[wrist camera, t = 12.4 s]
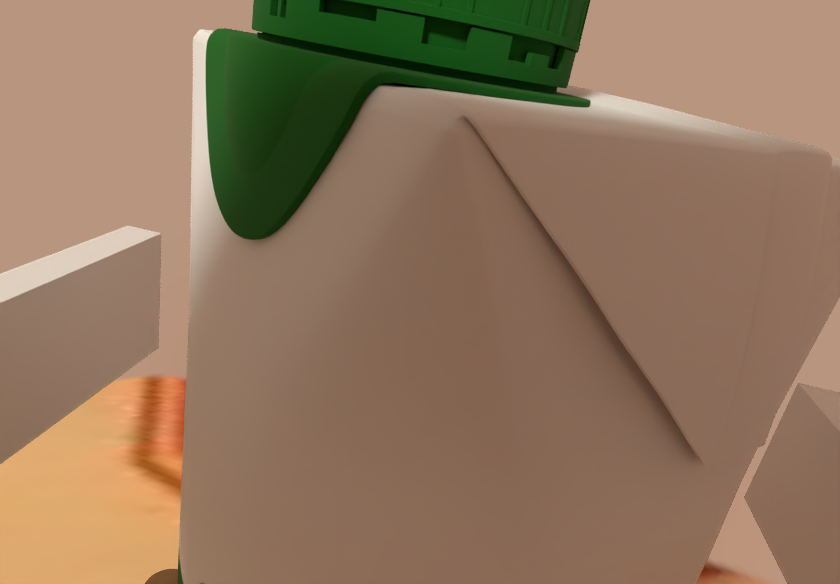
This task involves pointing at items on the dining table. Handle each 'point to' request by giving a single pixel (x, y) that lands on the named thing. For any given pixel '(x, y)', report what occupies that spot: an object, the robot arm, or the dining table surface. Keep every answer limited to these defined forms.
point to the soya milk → (477, 304)
